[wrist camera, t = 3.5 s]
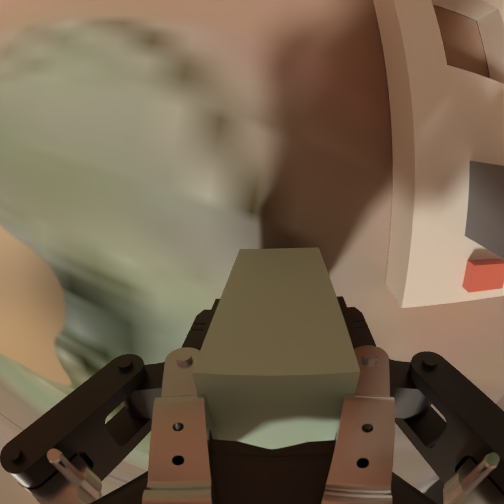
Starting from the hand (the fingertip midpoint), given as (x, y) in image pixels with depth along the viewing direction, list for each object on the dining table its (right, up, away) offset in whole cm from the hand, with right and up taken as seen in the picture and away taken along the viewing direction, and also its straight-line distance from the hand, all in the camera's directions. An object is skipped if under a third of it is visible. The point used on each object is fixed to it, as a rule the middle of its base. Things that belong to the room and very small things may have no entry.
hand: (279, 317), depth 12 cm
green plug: (0, +1, +3) cm, 3 cm away
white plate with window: (+12, +11, 0) cm, 16 cm away
